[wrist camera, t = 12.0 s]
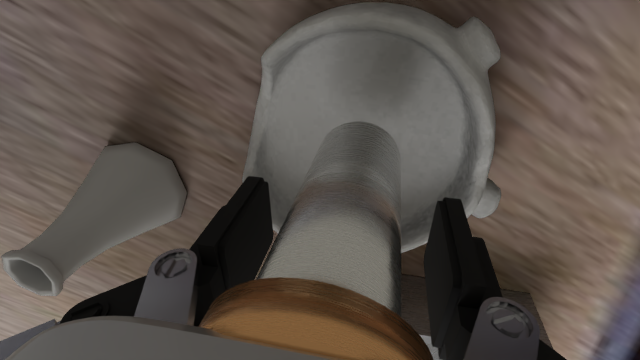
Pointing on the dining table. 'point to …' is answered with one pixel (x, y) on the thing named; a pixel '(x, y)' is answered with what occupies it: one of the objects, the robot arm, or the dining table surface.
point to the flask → (101, 216)
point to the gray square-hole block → (418, 316)
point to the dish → (381, 105)
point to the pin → (333, 260)
